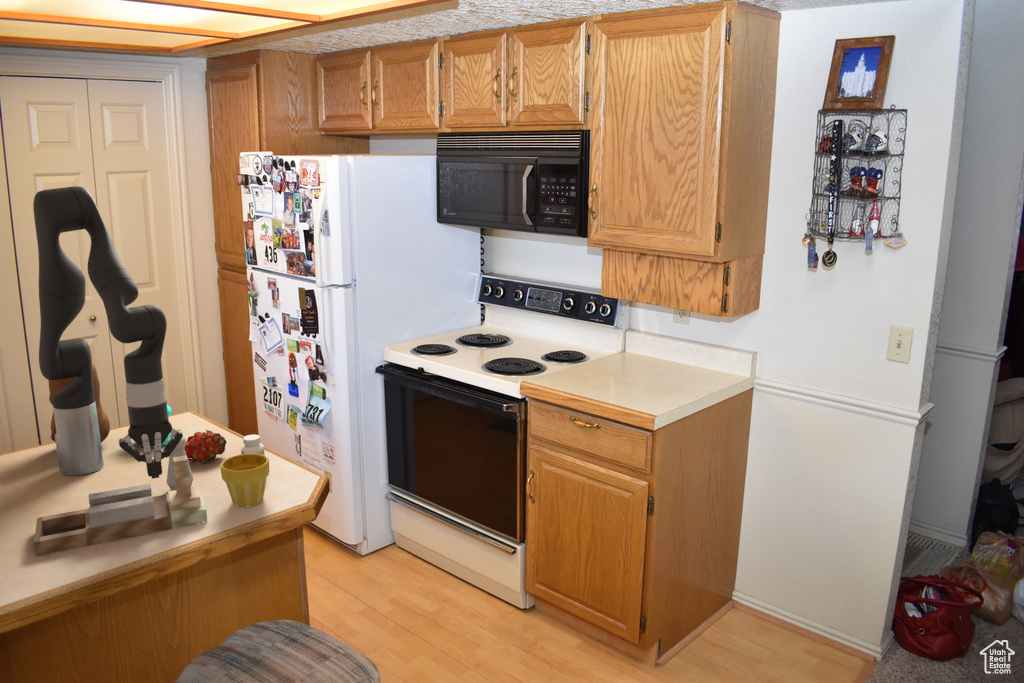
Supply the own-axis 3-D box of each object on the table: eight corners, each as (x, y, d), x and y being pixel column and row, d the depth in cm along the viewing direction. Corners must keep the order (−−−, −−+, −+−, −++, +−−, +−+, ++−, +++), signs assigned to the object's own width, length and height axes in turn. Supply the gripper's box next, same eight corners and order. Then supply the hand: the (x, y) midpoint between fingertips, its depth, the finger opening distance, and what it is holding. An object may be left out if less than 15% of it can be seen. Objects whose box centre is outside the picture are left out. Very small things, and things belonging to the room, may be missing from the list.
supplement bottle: (238, 476, 193) (235, 439, 191) (253, 468, 198) (250, 432, 196) (256, 480, 191) (253, 442, 189) (270, 471, 196) (267, 435, 194)
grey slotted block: (91, 529, 160) (88, 513, 159) (90, 509, 169) (88, 494, 168) (155, 517, 165) (153, 501, 164) (151, 498, 174) (150, 483, 173)
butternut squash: (98, 435, 220) (87, 349, 214) (120, 447, 212) (109, 357, 206) (45, 449, 210) (32, 359, 204) (66, 462, 202) (53, 368, 196)
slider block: (171, 511, 168) (166, 465, 165) (169, 500, 173) (164, 456, 171) (200, 506, 170) (196, 461, 168) (198, 495, 176) (193, 451, 173)
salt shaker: (184, 495, 182) (178, 443, 179) (162, 493, 184) (156, 441, 180) (199, 485, 188) (193, 434, 185) (177, 483, 189) (172, 432, 186)
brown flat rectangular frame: (36, 556, 155) (33, 542, 154) (39, 530, 165) (37, 517, 165) (207, 521, 170) (206, 509, 169) (200, 500, 180) (199, 488, 179)
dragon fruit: (232, 462, 206) (184, 476, 201) (225, 436, 210) (178, 450, 206) (228, 445, 199) (179, 459, 195) (221, 419, 204) (172, 432, 199)
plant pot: (252, 514, 173) (248, 473, 171) (214, 507, 177) (210, 466, 174) (280, 495, 183) (278, 456, 180) (244, 489, 186) (241, 450, 184)
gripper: (112, 410, 158) (122, 489, 162) (182, 400, 164) (190, 477, 168) (111, 399, 165) (120, 476, 169) (178, 391, 171) (186, 465, 175)
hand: (155, 476), depth 169 cm, fingers closed
